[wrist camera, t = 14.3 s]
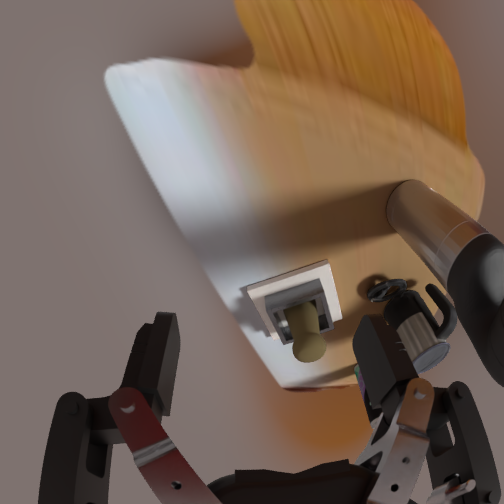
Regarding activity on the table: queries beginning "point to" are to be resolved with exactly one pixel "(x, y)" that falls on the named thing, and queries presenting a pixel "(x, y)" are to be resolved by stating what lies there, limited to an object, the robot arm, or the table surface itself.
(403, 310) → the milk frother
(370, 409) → the spray can
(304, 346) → the cork
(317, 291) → the socket collar
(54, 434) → the robot arm
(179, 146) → the table surface
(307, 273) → the socket base
